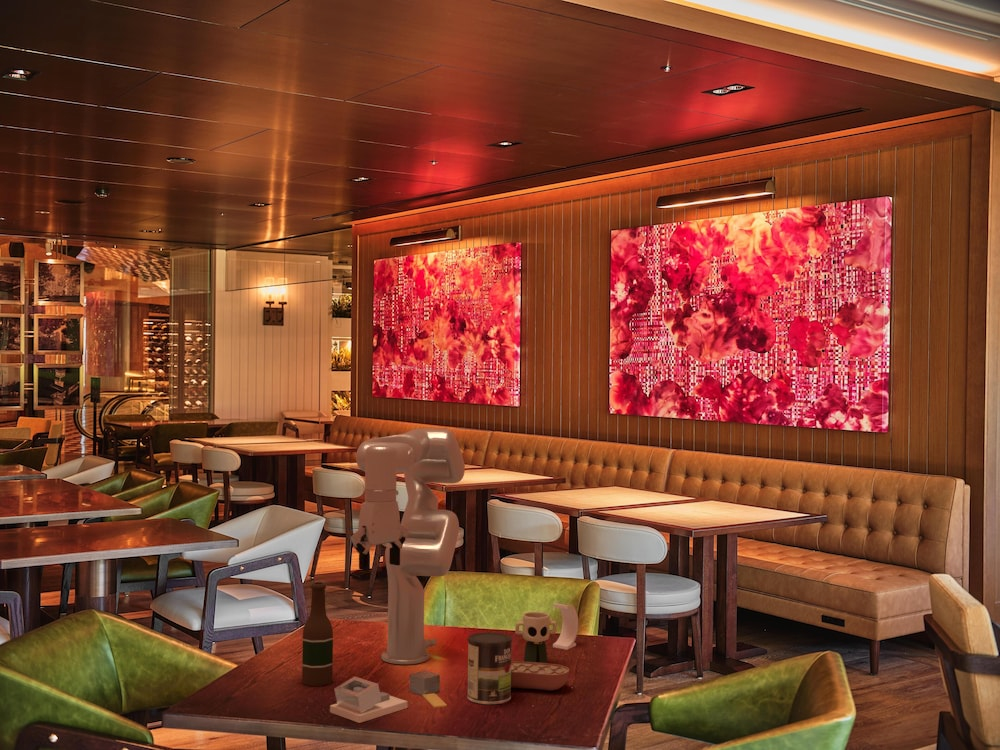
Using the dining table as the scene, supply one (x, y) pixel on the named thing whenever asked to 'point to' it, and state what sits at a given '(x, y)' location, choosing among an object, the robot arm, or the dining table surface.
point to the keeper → (379, 709)
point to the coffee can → (489, 668)
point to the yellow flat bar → (434, 700)
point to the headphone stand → (567, 627)
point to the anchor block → (424, 682)
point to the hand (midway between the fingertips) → (379, 567)
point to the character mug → (536, 635)
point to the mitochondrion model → (538, 675)
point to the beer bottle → (317, 641)
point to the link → (357, 695)
